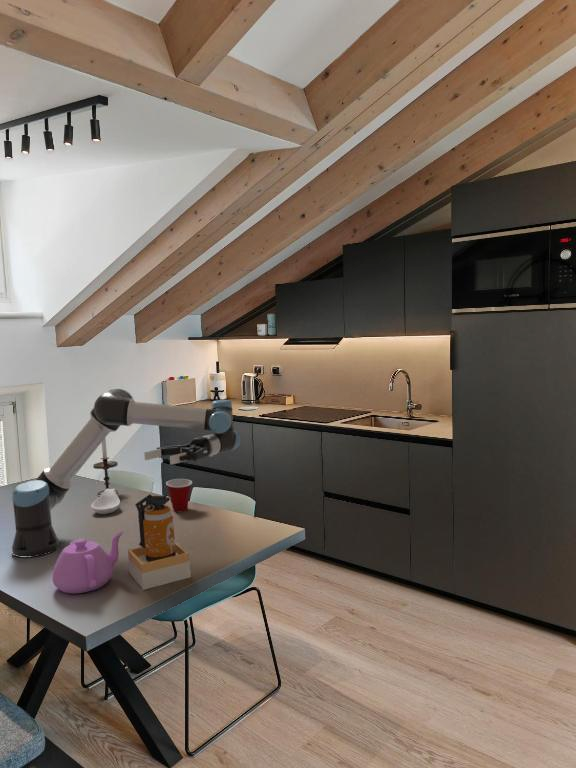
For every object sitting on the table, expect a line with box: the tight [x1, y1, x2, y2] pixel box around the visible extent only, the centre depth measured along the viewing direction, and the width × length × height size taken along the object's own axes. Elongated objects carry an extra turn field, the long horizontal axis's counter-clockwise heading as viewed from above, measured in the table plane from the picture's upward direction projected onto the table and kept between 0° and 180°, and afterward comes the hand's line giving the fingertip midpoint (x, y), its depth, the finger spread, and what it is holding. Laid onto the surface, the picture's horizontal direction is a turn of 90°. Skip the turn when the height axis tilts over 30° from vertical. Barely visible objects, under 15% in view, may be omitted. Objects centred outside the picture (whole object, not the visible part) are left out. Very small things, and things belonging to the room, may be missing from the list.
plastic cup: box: [165, 478, 193, 513], centre depth 251 cm, size 11×11×12 cm
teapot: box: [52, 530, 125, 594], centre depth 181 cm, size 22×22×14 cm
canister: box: [135, 494, 176, 562], centre depth 183 cm, size 9×11×20 cm
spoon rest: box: [90, 488, 121, 515], centre depth 259 cm, size 24×12×7 cm, turn 8°
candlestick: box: [92, 438, 119, 496], centre depth 280 cm, size 11×11×35 cm
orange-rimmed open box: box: [127, 541, 192, 591], centre depth 184 cm, size 15×15×8 cm
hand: (157, 458), depth 202 cm, fingers open, 13 cm apart
